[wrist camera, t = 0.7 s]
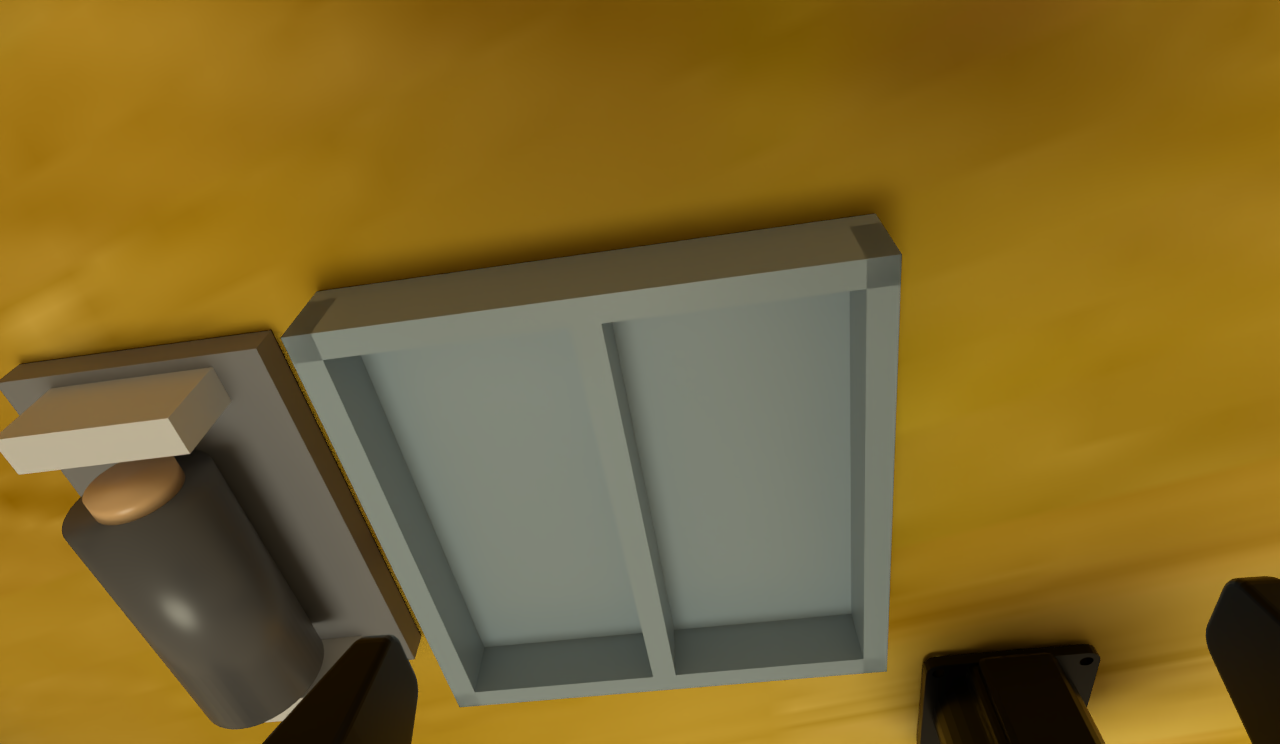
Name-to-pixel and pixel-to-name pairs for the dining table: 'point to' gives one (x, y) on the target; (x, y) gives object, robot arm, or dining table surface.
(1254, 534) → the dining table surface
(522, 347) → the cell tray
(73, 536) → the battery cell
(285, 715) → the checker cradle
